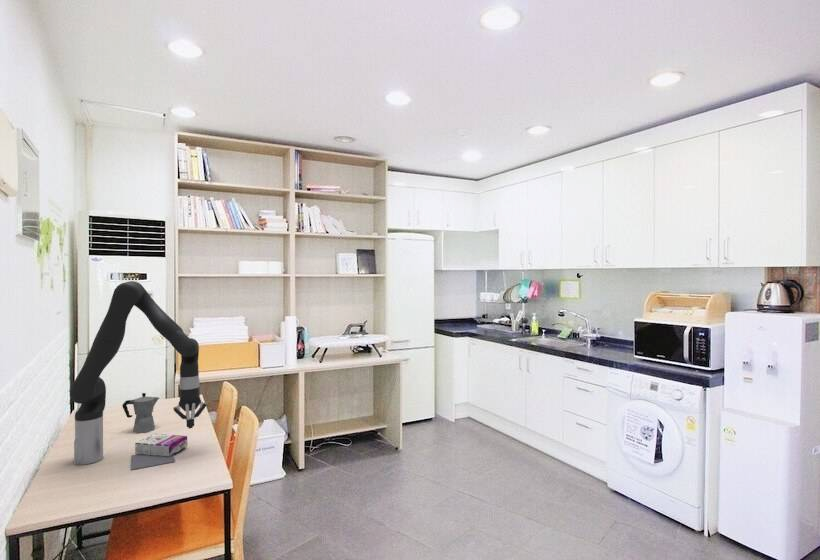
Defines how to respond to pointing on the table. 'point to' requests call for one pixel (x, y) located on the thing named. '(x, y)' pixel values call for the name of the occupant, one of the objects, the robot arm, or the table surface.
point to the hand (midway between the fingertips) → (190, 427)
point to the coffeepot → (142, 413)
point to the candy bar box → (161, 445)
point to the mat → (149, 461)
